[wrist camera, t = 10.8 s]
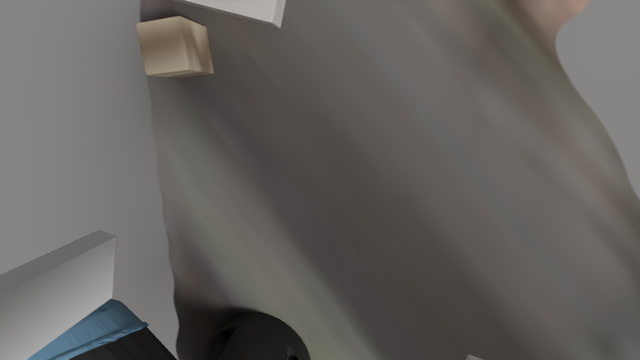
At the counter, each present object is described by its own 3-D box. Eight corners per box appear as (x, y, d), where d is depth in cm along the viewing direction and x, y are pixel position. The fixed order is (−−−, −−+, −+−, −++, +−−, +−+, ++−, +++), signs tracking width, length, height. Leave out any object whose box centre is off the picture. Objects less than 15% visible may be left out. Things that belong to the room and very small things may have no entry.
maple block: (214, 73, 37) (188, 69, 32) (176, 78, 38) (146, 75, 33) (206, 27, 36) (179, 16, 31) (167, 33, 37) (135, 23, 32)
